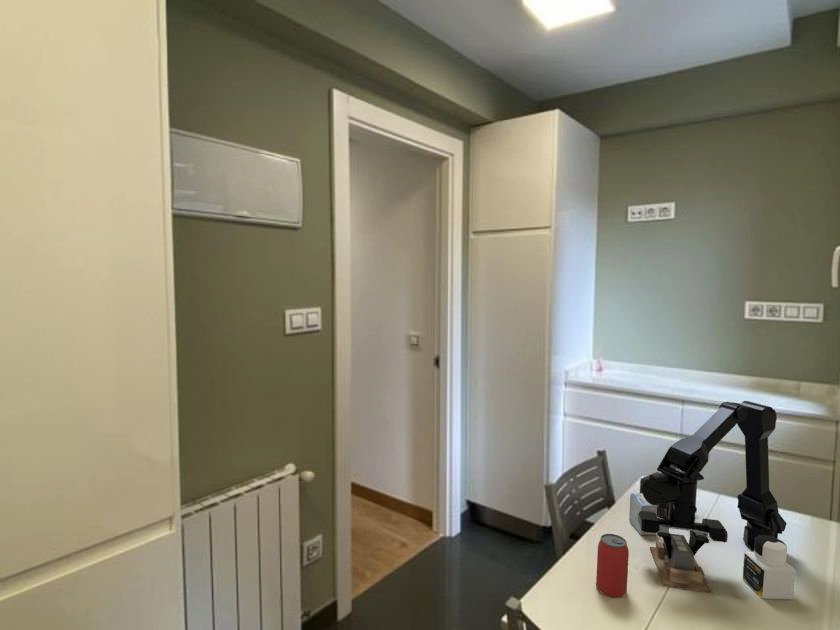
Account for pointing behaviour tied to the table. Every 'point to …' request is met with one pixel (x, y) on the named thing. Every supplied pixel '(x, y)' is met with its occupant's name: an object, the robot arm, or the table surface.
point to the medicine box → (639, 505)
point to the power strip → (681, 553)
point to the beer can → (612, 565)
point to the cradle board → (678, 572)
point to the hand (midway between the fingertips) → (678, 559)
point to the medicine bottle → (769, 569)
